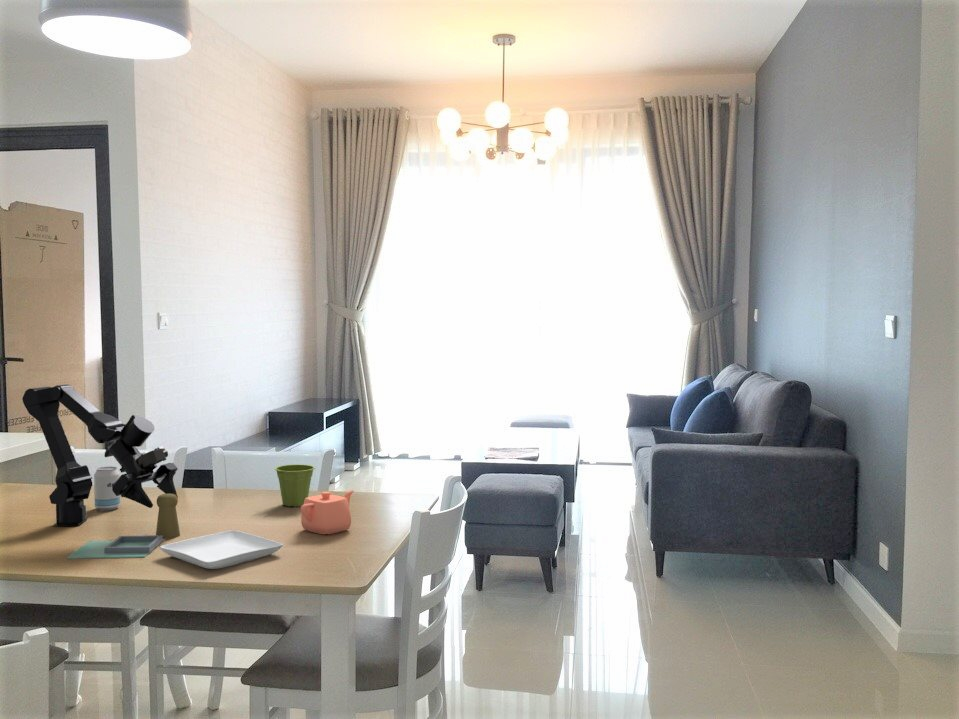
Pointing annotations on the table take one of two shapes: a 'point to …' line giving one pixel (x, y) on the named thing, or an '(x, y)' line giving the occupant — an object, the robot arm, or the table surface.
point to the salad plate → (222, 549)
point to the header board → (119, 547)
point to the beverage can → (106, 488)
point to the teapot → (326, 513)
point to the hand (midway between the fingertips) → (164, 502)
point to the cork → (167, 516)
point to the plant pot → (294, 483)
